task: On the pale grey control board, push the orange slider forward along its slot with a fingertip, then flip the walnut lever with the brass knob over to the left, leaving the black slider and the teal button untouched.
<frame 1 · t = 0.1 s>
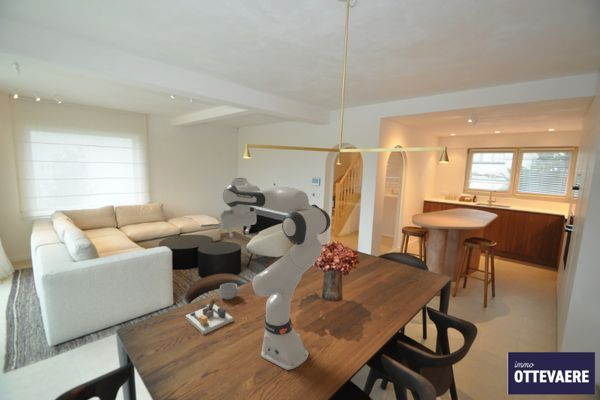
hand: (239, 235, 139), 48 cm above the table, fingers open, 8 cm apart
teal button: (209, 306, 152), point 3 cm above the table, slide at 0.0 cm
orange slider: (203, 320, 137), point 4 cm above the table, slide at 0.0 cm
walnut lever: (211, 305, 146), point 7 cm above the table, hinge at 28.0°
teacup: (230, 298, 169), on the table
panel: (209, 319, 145), on the table
black slider: (221, 312, 145), point 4 cm above the table, slide at 0.0 cm
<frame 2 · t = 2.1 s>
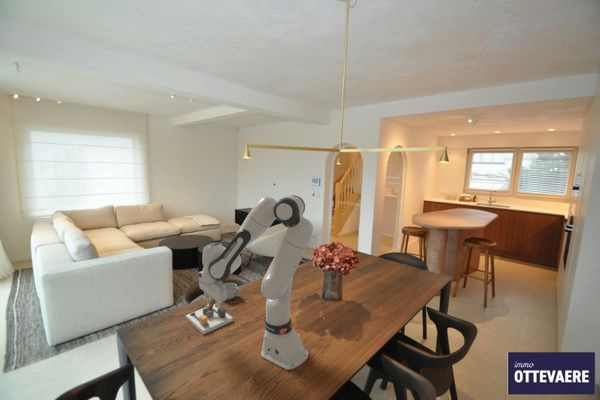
hand: (212, 303, 129), 17 cm above the table, fingers open, 8 cm apart
nothing on the table moved.
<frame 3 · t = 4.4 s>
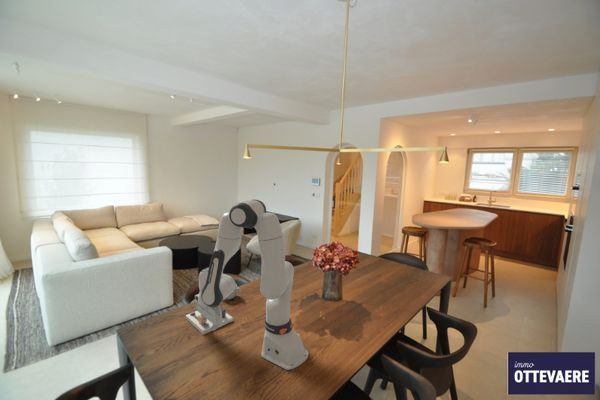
hand: (209, 325, 133), 4 cm above the table, fingers open, 8 cm apart
orange slider: (202, 319, 138), point 4 cm above the table, slide at 1.2 cm, touching gripper
everything else where it was.
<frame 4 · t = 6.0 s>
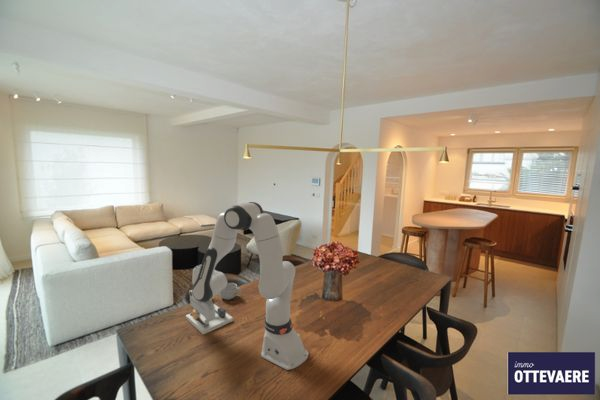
hand: (202, 319, 138), 4 cm above the table, fingers open, 8 cm apart
orange slider: (196, 313, 143), point 4 cm above the table, slide at 8.1 cm, touching gripper
everything else where it was.
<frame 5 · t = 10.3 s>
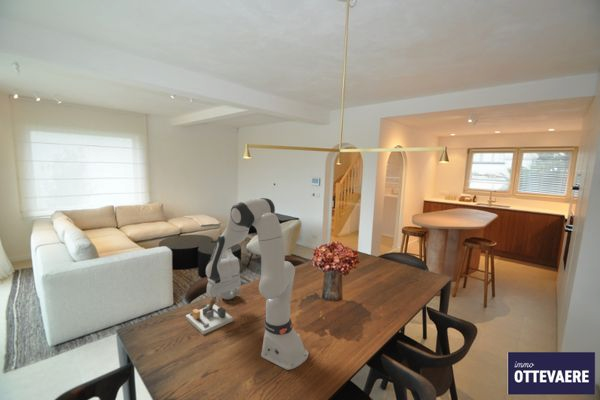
hand: (224, 298, 152), 8 cm above the table, fingers open, 7 cm apart
orange slider: (196, 313, 143), point 4 cm above the table, slide at 8.1 cm
walnut lever: (211, 305, 146), point 7 cm above the table, hinge at 27.7°, touching gripper
everything else where it was.
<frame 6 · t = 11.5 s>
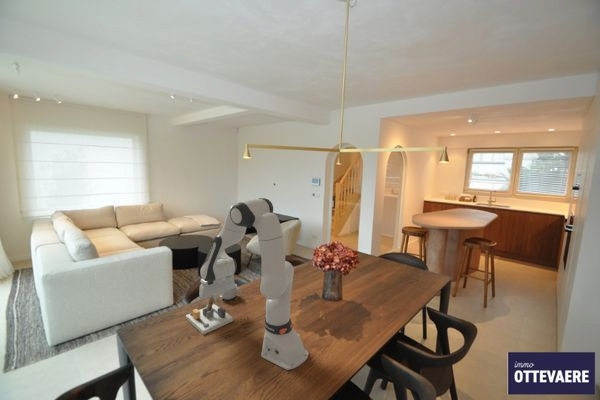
hand: (218, 300, 149), 9 cm above the table, fingers closed
walnut lever: (210, 305, 145), point 7 cm above the table, hinge at 18.2°, touching gripper
everything else where it was.
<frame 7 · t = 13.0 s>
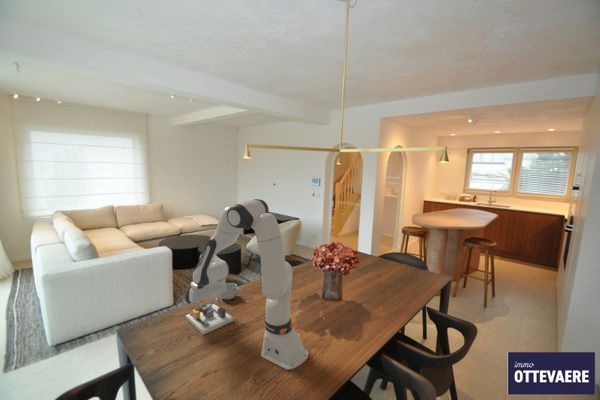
hand: (208, 304, 145), 8 cm above the table, fingers open, 7 cm apart
orange slider: (196, 313, 143), point 4 cm above the table, slide at 8.1 cm, touching walnut lever
walnut lever: (202, 310, 143), point 6 cm above the table, hinge at -51.1°, touching gripper, orange slider
everything else where it was.
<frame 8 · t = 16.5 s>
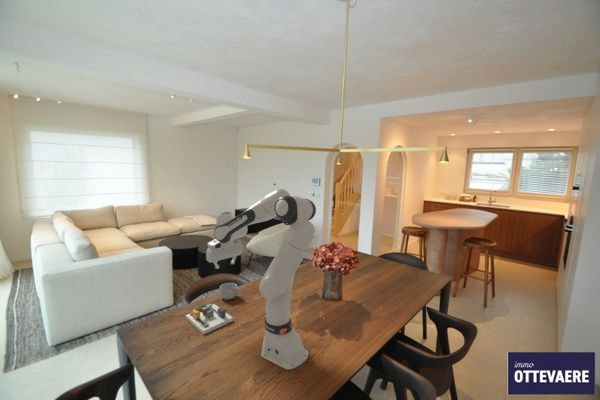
hand: (225, 266, 145), 29 cm above the table, fingers open, 8 cm apart
walnut lever: (202, 310, 143), point 6 cm above the table, hinge at -51.1°, touching orange slider
everything else where it was.
at the end: orange slider slide at 8.1 cm; walnut lever at -51° (first picture: +28°); black slider slide at 0.0 cm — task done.
